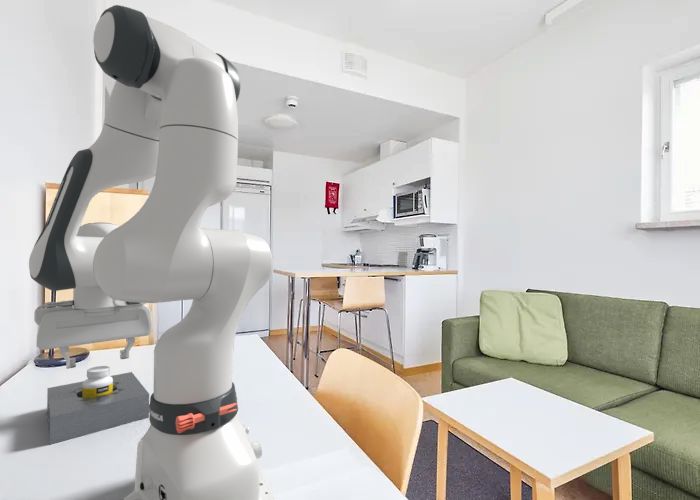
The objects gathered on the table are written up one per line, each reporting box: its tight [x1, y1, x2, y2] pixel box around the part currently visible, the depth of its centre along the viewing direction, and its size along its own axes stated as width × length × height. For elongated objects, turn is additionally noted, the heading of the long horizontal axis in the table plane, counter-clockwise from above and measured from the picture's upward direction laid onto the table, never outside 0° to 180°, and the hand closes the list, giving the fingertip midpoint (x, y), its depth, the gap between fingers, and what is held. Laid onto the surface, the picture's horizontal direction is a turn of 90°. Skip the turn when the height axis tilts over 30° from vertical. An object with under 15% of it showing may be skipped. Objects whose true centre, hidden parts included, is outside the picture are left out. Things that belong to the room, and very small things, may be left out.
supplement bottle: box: [82, 365, 113, 398], centre depth 76 cm, size 5×5×10 cm
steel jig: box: [46, 371, 150, 445], centre depth 76 cm, size 18×16×5 cm
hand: (98, 362), depth 76 cm, fingers open, 8 cm apart
